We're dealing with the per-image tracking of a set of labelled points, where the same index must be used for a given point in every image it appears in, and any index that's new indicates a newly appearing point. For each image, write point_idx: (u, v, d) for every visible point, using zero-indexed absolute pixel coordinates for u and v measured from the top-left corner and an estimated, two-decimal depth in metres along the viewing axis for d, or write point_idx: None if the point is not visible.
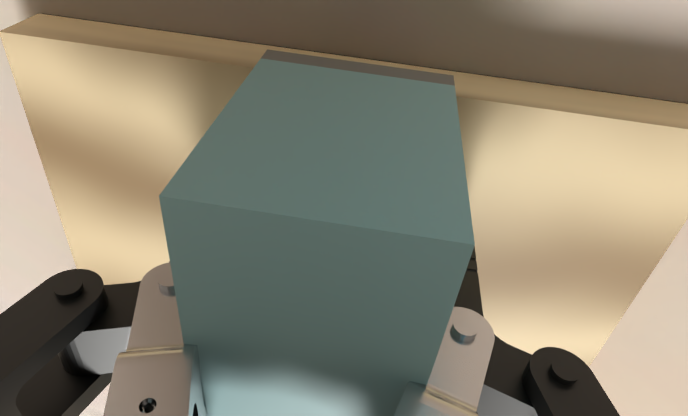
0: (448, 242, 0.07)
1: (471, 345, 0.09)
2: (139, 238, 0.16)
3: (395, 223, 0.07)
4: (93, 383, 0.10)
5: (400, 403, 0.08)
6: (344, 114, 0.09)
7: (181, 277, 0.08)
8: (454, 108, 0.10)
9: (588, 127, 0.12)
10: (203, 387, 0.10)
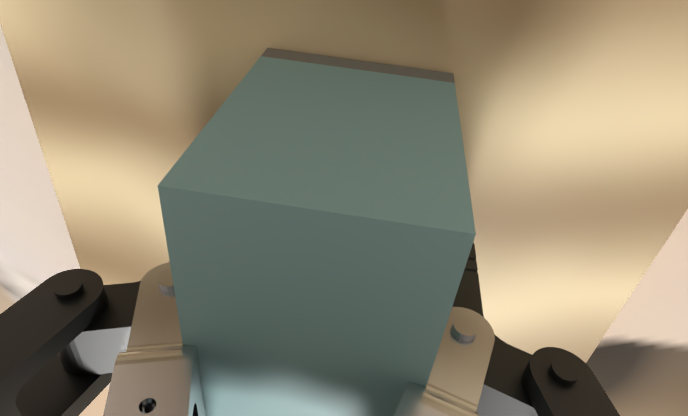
0: (449, 232, 0.07)
1: (471, 345, 0.09)
2: None
3: (396, 213, 0.07)
4: (93, 383, 0.10)
5: (400, 403, 0.08)
6: (344, 109, 0.09)
7: (180, 270, 0.08)
8: (454, 104, 0.10)
9: None
10: (201, 385, 0.10)
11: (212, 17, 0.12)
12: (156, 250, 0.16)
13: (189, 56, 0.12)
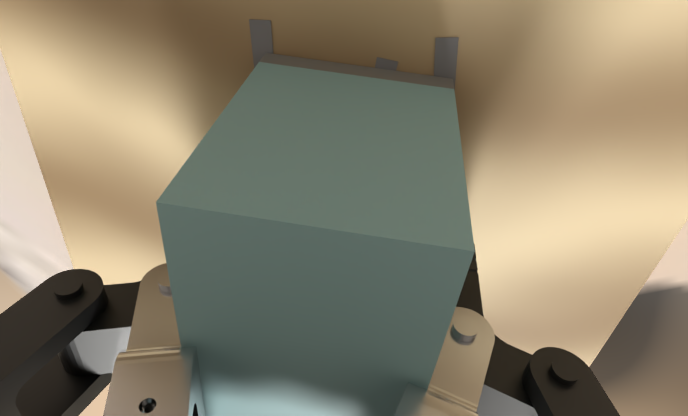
0: (448, 249, 0.07)
1: (471, 345, 0.09)
2: None
3: (395, 231, 0.07)
4: (93, 383, 0.10)
5: (400, 403, 0.08)
6: (342, 119, 0.09)
7: (179, 284, 0.08)
8: (454, 112, 0.10)
9: None
10: None
11: None
12: (135, 172, 0.14)
13: None
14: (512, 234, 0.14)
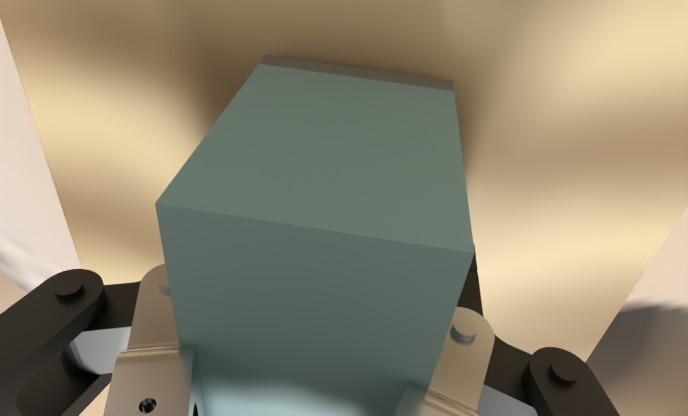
0: (447, 250, 0.07)
1: (471, 345, 0.09)
2: None
3: (394, 232, 0.07)
4: (93, 383, 0.10)
5: (400, 403, 0.08)
6: (342, 121, 0.09)
7: (177, 285, 0.08)
8: (453, 114, 0.10)
9: None
10: None
11: None
12: (148, 202, 0.15)
13: None
14: (498, 260, 0.15)
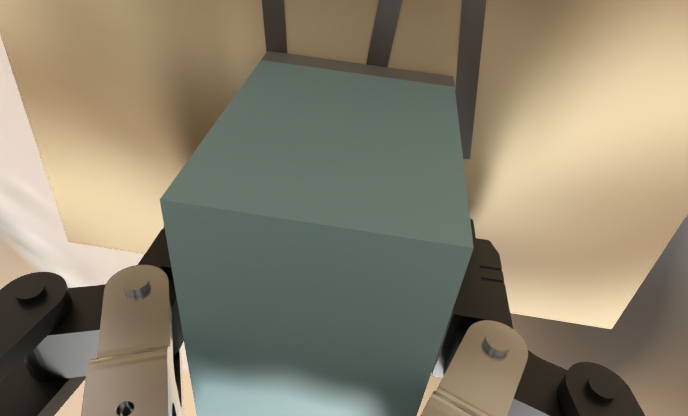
0: (447, 245, 0.07)
1: (505, 361, 0.09)
2: None
3: (394, 228, 0.07)
4: (63, 386, 0.10)
5: (424, 411, 0.08)
6: (344, 116, 0.09)
7: (182, 280, 0.08)
8: (454, 110, 0.10)
9: None
10: (204, 388, 0.10)
11: None
12: (117, 61, 0.12)
13: None
14: (552, 128, 0.12)
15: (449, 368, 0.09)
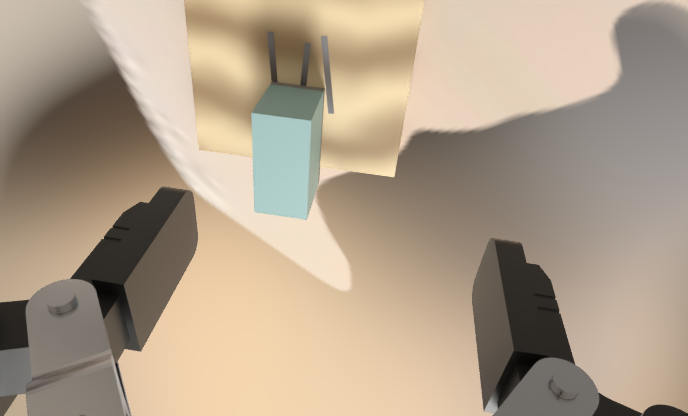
0: (306, 120, 0.35)
1: (576, 404, 0.09)
2: None
3: (297, 117, 0.36)
4: None
5: None
6: (290, 98, 0.38)
7: (254, 132, 0.37)
8: (320, 97, 0.39)
9: None
10: (256, 167, 0.38)
11: None
12: (227, 84, 0.41)
13: None
14: (355, 103, 0.41)
15: (518, 413, 0.08)
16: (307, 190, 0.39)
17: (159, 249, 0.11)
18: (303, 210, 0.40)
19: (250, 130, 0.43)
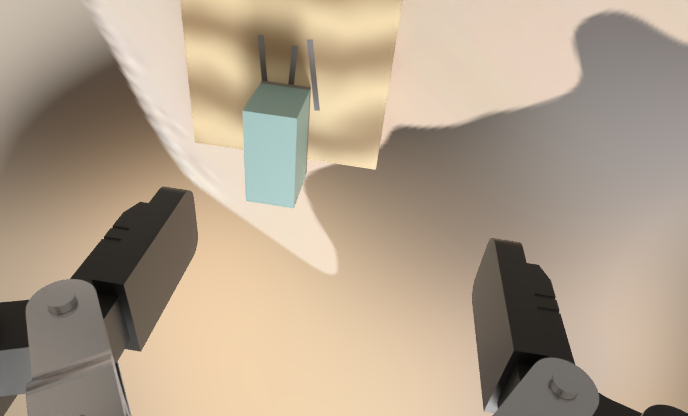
0: (292, 118, 0.39)
1: (576, 404, 0.09)
2: None
3: (284, 115, 0.39)
4: None
5: None
6: (279, 97, 0.41)
7: (244, 128, 0.40)
8: (306, 95, 0.42)
9: None
10: (247, 160, 0.42)
11: None
12: (220, 82, 0.44)
13: (237, 5, 0.40)
14: (339, 101, 0.44)
15: (518, 413, 0.08)
16: (294, 181, 0.43)
17: (159, 249, 0.11)
18: (290, 199, 0.44)
19: (242, 125, 0.47)
